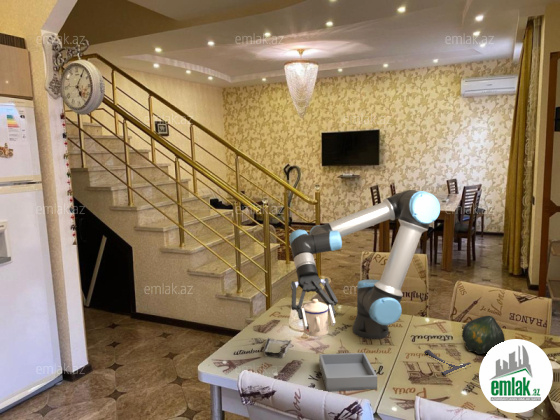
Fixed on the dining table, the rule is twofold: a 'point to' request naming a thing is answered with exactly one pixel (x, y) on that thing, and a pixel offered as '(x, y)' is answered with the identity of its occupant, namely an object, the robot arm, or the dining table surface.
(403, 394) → the dining table surface
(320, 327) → the teacup with lid
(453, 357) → the dining table surface
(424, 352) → the dark grey rake
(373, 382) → the tray
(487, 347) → the squash
